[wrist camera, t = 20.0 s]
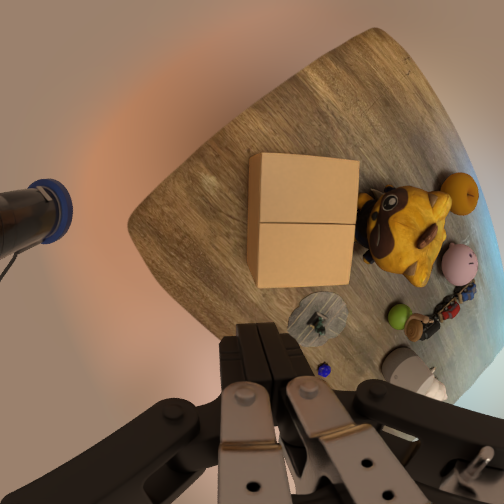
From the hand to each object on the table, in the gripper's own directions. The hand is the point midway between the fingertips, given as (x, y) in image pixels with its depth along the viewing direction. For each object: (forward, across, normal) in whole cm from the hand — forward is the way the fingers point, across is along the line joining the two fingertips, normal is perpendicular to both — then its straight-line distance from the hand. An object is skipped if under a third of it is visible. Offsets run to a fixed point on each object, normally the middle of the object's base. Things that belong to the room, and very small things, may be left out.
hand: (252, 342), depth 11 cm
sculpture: (+35, -18, +19) cm, 44 cm away
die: (+35, -21, +31) cm, 51 cm away
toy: (+35, -50, +8) cm, 62 cm away
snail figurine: (+35, -36, +19) cm, 54 cm away
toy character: (+35, -29, +1) cm, 45 cm away
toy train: (+35, -52, +19) cm, 66 cm away
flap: (+24, -11, +3) cm, 27 cm away
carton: (+35, -11, -1) cm, 37 cm away
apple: (+35, -46, -7) cm, 58 cm away
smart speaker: (+35, -40, +33) cm, 63 cm away
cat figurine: (+35, -57, +45) cm, 81 cm away
